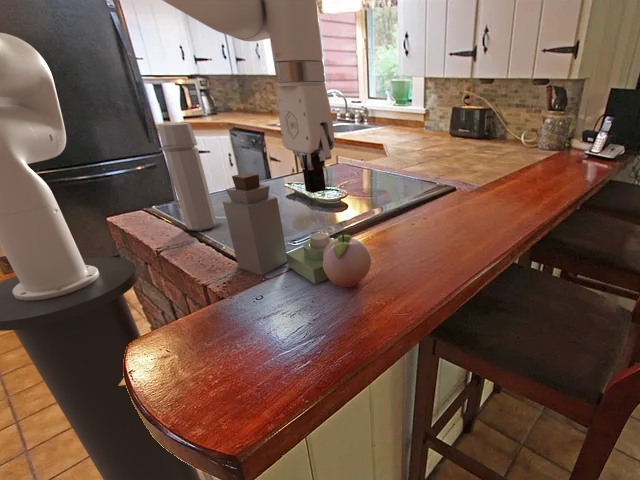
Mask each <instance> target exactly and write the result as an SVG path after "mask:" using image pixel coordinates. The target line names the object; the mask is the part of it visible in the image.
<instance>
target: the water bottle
mask: <svg viewBox="0 0 640 480" xmlns="http://www.w3.org/2000/svg"><path fill="white" fill-rule="evenodd" d="M157 127H158V131H159V137H160V141H161V147H160V148H158V150H159V151H163V153H164V155H165V156H164V157H165V159H166V165H167V169H168V174H169V179H170V184H171V191H172V195H173V199H174V202H175V204H176V206H177V208H178V209H179V210H181V213H182V216H183V221H184V223H185V228H186V229H188V230H189V231H193V232H202V231H207V230H210V229H212V228H214V227H215V226H216V225H217V223H218V221H217V218H216V214H215V210H214V207H213V203H212V198H211V194H210V190H209V187H208V183H207V179H206V175H205V171H204V166H203V163H202V162H203V161H202V159H201V155H200V151H199V148H198V147H196V146H198V142H197V139H196V137H195V134H194V131H193V128H192V125H191V123H190V122H169V123H168V122H167V123H159V124H157Z"/></svg>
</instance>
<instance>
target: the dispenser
mask: <svg viewBox="0 0 640 480" xmlns="http://www.w3.org/2000/svg"><path fill="white" fill-rule="evenodd" d="M329 238H330V242H331V241H333V240H335V239H336V238H333V237H329ZM325 248H326V247H325ZM325 248H312V247H311V240H310V239H308V240H307V241H305V242H304V243H303V247H302V248H298V249H296V250H292V251H289V252H286V255H287V261H288V262H287V266H288V268H289V269H291V270H293V271H294V272H296V273H297V274H299V275H300V276H301V277H303V278H305V279H306V280H308V281H310V282H311V283H313V284H314V285H316V284H319V283H321V282H324V281H326V280H330V279H329V278H328V277H327V275H326V273H325V271H324V269H323V253H324V250H325Z"/></svg>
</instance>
